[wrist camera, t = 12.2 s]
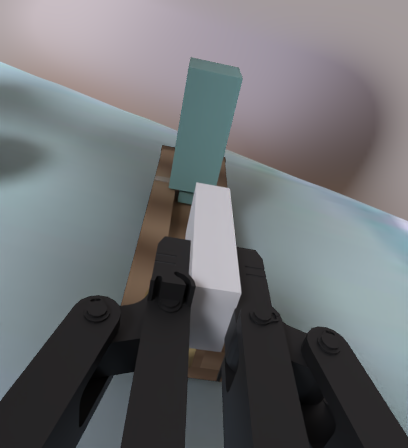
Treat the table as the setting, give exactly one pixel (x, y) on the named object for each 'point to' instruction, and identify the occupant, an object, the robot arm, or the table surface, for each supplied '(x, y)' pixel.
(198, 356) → the beam
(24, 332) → the table surface
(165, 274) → the robot arm
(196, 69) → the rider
